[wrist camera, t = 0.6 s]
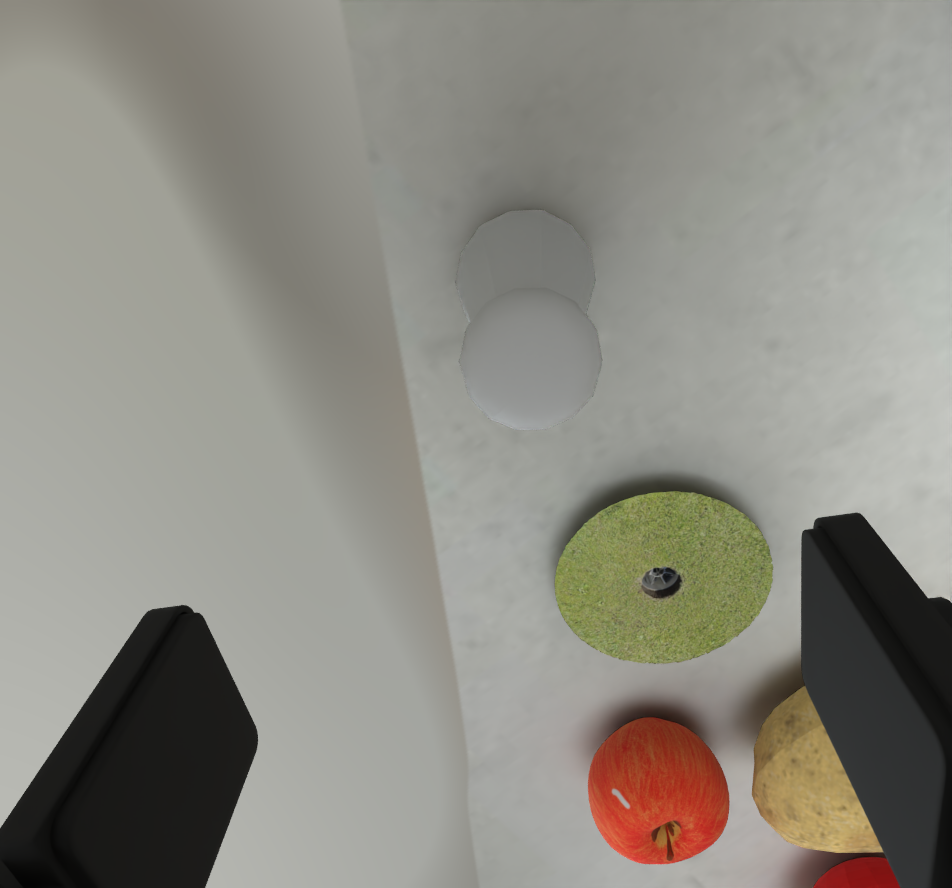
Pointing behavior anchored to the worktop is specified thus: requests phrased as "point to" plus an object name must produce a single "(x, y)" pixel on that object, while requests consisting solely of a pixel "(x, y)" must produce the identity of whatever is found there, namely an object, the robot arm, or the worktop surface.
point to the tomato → (859, 874)
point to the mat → (663, 577)
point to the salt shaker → (528, 320)
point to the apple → (657, 792)
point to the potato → (807, 783)
